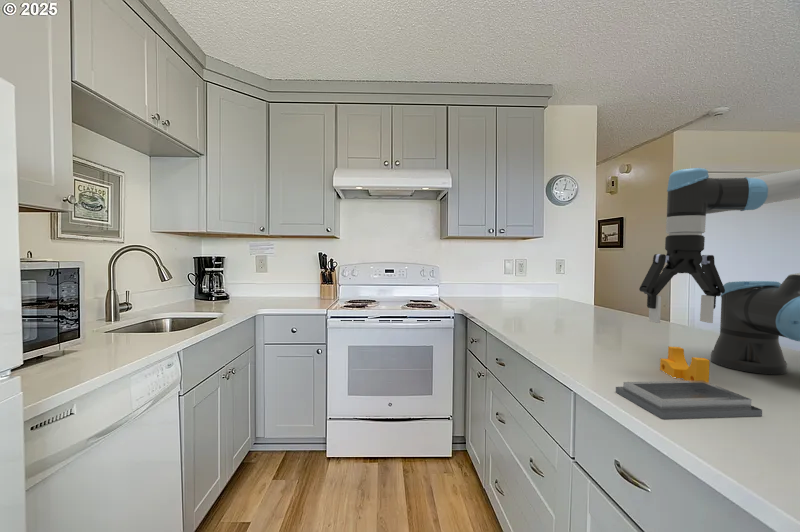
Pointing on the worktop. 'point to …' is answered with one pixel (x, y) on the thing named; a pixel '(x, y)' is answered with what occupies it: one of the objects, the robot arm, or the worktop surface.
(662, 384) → the rail plate
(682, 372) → the pipe clamp
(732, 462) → the worktop surface
